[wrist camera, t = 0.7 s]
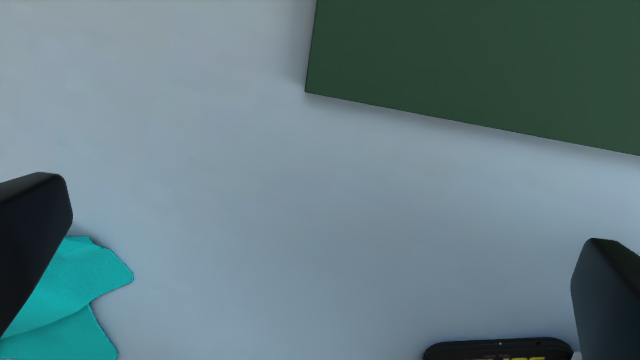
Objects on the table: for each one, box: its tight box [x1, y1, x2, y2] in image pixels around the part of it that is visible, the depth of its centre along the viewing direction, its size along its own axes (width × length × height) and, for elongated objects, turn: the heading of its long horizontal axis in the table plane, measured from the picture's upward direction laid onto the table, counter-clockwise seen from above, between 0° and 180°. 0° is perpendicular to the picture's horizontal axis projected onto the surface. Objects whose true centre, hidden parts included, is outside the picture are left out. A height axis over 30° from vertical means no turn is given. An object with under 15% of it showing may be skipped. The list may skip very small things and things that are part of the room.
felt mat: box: [305, 0, 640, 156], centre depth 20 cm, size 10×16×1 cm, turn 81°
